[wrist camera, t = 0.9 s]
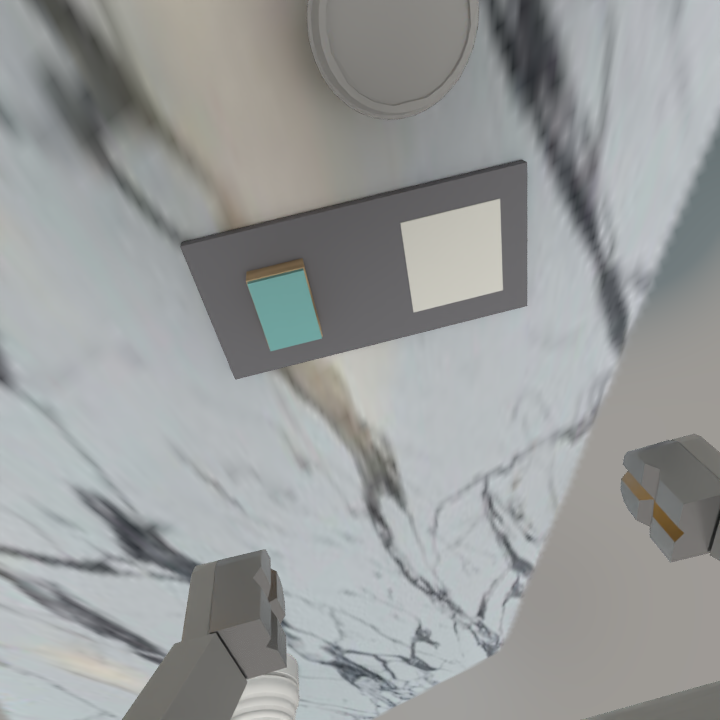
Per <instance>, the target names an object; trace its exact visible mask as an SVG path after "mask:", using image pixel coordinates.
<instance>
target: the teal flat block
mask: <svg viewBox="0 0 720 720" xmlns="http://www.w3.org/2000/svg"><path fill="white" fill-rule="evenodd" d="M246 283H247V286H248V289H249V292H250V294H251V297H252V300H253V303H254V306H255V309H256V312H257V314H258V317H259V320H260V323H261V326H262V329H263V332H264V334H265V337H266V340H267V343H268V346H269V349H270V351H274V350H278V349H282V348H286V347H290V346H294V345H298V344H302V343H306V342H310V341H314V340H318V339H322V336H323V334H322V330H321V325H320V321H319V318H318V314H317V310H316V307H315V303H314V299H313V296H312V292H311V288H310V285H309V281H308V277H307V273H306V270H305V266H304V262H303V259H302V258H301V259H297V260H293V261H289V262H285V263H281V264H276V265H272V266H268V267H264V268H260V269H256V270H252V271H248V272H246Z"/></svg>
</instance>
